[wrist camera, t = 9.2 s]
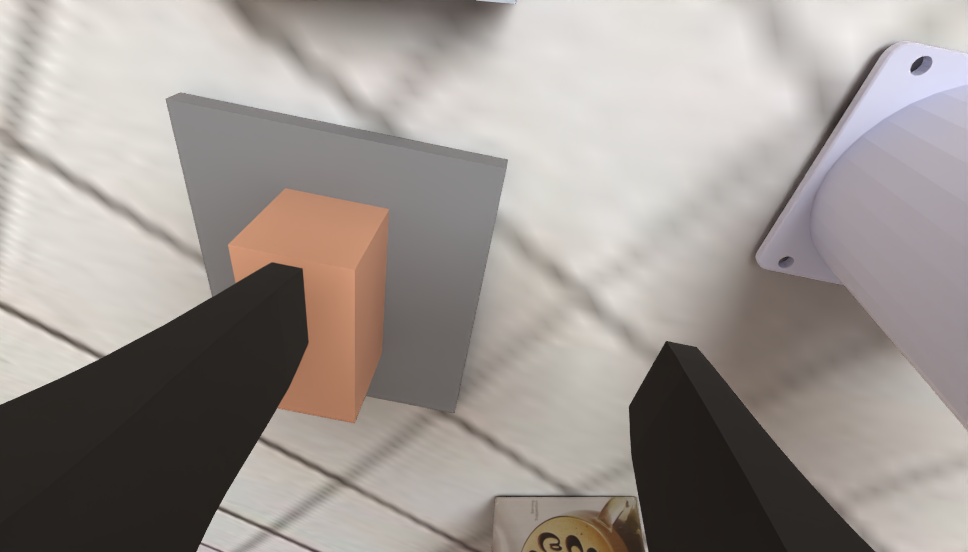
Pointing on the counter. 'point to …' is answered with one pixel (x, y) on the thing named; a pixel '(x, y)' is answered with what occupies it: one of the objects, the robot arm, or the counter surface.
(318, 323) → the terracotta brick
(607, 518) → the coffee box
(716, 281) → the counter surface
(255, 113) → the slate mat
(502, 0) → the blue brick
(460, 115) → the counter surface
